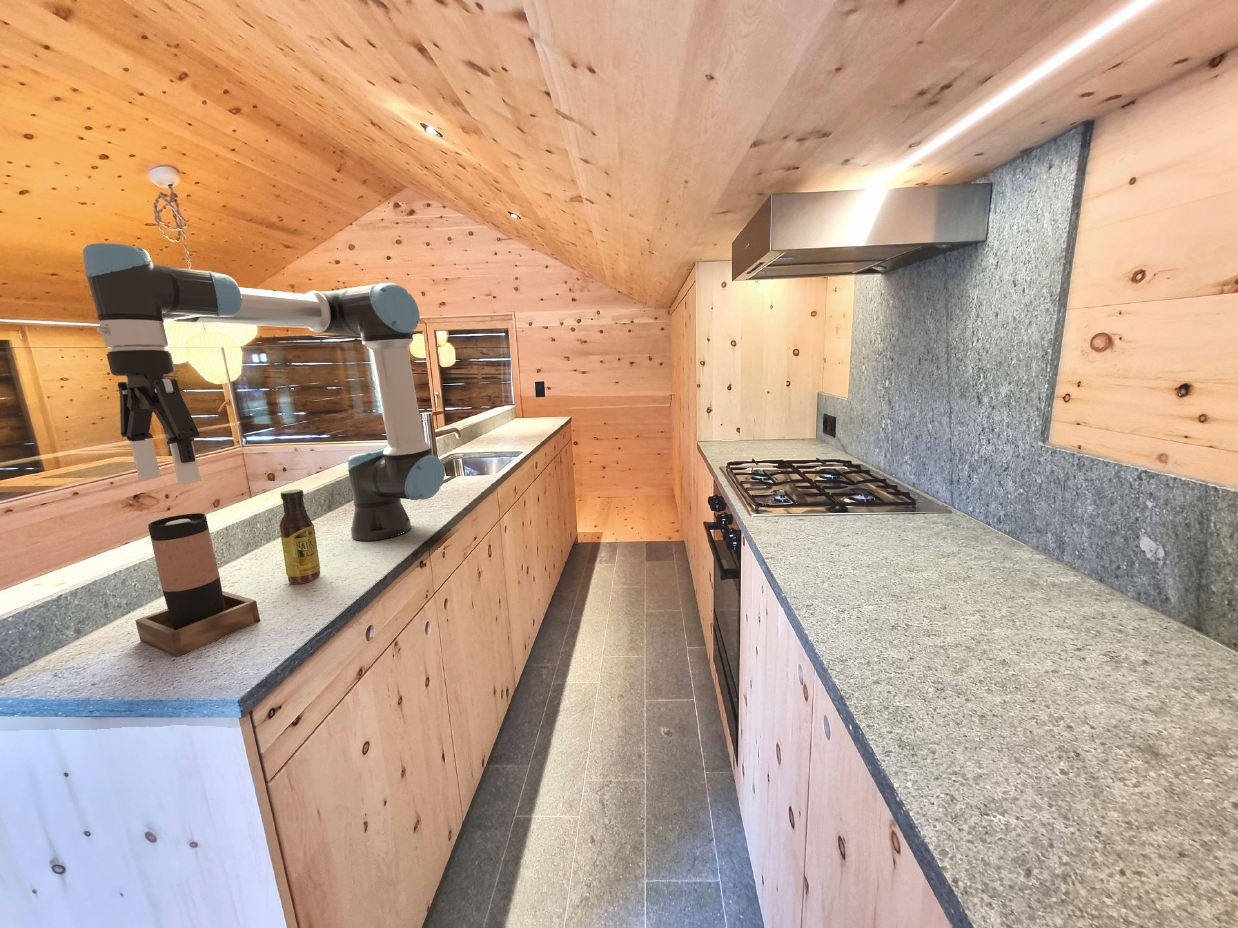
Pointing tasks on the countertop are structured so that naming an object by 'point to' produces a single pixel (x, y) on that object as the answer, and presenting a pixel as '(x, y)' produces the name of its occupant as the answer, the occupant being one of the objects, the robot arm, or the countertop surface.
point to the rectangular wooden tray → (197, 626)
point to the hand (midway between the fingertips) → (169, 480)
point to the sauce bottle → (298, 539)
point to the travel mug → (187, 568)
